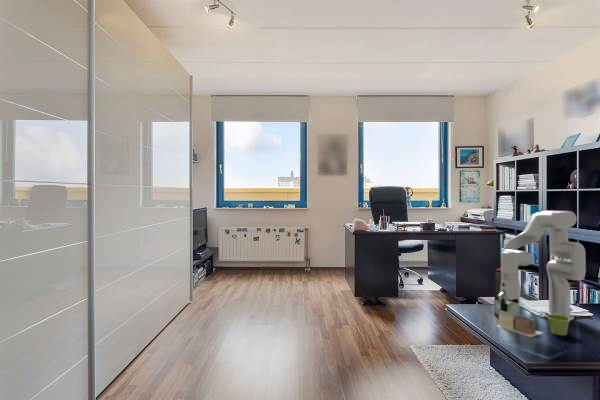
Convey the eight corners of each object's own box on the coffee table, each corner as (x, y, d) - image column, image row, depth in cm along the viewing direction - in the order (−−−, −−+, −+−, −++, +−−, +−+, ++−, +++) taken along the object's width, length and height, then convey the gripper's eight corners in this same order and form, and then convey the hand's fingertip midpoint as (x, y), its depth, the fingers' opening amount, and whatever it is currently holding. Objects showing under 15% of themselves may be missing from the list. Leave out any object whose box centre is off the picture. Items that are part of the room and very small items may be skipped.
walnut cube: (522, 328, 175) (522, 316, 175) (535, 332, 169) (535, 319, 169) (515, 330, 172) (515, 318, 172) (528, 334, 166) (528, 321, 166)
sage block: (519, 315, 176) (519, 303, 176) (512, 317, 173) (512, 305, 173) (507, 312, 181) (507, 300, 181) (500, 313, 178) (500, 302, 178)
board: (508, 324, 183) (508, 322, 183) (543, 335, 168) (543, 332, 168) (495, 328, 178) (495, 325, 178) (530, 339, 163) (530, 337, 163)
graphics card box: (502, 310, 206) (502, 264, 206) (516, 313, 201) (515, 266, 201) (494, 317, 194) (493, 268, 194) (508, 320, 189) (507, 270, 189)
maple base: (507, 323, 182) (507, 311, 182) (521, 327, 176) (520, 315, 176) (499, 325, 179) (498, 313, 179) (512, 329, 172) (512, 317, 172)
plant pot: (564, 340, 162) (564, 321, 162) (542, 333, 170) (542, 316, 170) (574, 336, 166) (574, 318, 166) (553, 330, 174) (552, 313, 175)
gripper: (506, 279, 170) (506, 314, 170) (526, 275, 178) (527, 308, 178) (491, 276, 176) (492, 310, 176) (512, 272, 185) (512, 305, 185)
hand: (509, 309), depth 177 cm, fingers open, 9 cm apart
